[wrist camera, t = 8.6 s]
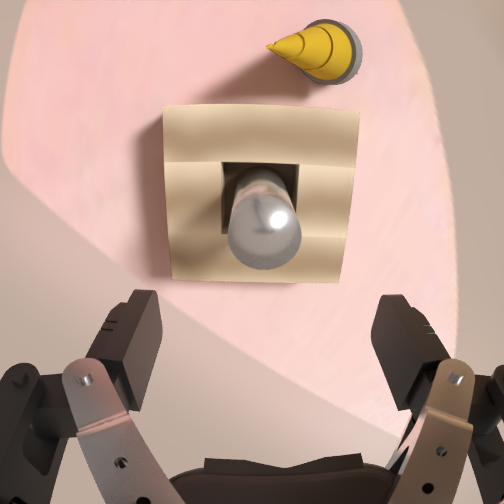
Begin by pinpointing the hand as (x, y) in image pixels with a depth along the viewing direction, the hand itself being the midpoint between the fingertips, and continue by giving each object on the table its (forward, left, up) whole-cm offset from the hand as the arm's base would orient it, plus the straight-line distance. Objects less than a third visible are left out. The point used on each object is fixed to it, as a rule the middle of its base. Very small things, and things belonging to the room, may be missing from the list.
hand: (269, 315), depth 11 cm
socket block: (0, 0, -18) cm, 18 cm away
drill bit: (-11, +4, -18) cm, 22 cm away
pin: (0, 0, -17) cm, 17 cm away
